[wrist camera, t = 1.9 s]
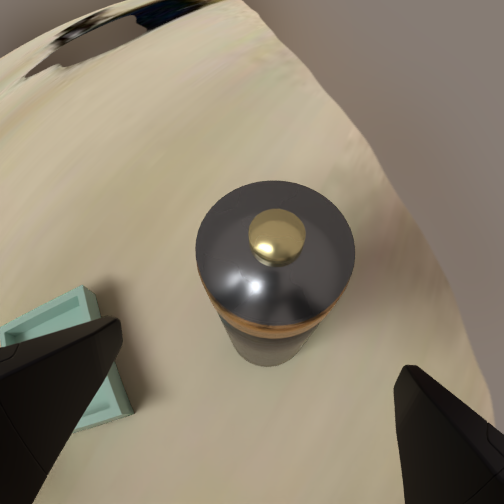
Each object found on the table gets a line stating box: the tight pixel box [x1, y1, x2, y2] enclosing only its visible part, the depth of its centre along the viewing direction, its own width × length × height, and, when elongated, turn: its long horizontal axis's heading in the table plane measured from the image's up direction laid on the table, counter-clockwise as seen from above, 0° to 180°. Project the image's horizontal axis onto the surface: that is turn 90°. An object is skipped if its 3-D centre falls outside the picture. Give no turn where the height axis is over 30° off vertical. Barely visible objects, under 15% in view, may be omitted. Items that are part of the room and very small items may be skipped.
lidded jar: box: [195, 181, 355, 367], centre depth 14 cm, size 5×5×12 cm
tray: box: [0, 285, 134, 433], centre depth 17 cm, size 9×9×2 cm
